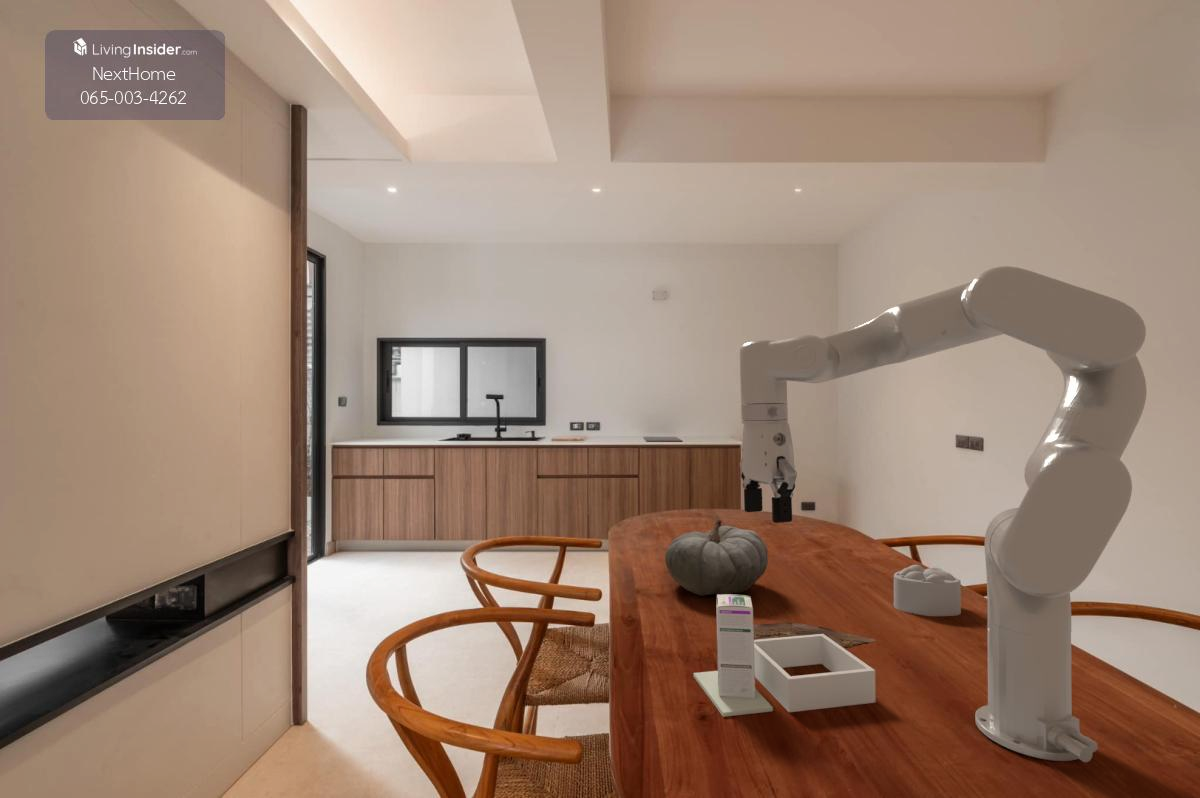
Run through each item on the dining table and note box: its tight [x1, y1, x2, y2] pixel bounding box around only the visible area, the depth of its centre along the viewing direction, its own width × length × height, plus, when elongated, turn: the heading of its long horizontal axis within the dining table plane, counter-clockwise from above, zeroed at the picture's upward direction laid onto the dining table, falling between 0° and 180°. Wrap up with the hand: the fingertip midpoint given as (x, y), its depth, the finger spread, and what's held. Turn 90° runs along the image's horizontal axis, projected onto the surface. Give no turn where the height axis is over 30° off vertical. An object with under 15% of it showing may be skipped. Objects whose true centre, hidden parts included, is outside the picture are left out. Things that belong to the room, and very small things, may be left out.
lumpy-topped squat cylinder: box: [893, 564, 962, 617], centre depth 133 cm, size 10×13×9 cm
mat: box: [692, 670, 774, 718], centre depth 95 cm, size 13×8×1 cm, turn 11°
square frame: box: [754, 634, 876, 713], centre depth 98 cm, size 15×15×5 cm
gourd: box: [664, 519, 769, 596], centre depth 147 cm, size 25×25×17 cm
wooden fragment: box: [753, 621, 877, 649], centre depth 118 cm, size 26×11×1 cm, turn 72°
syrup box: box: [715, 593, 756, 699], centre depth 95 cm, size 6×6×14 cm
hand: (767, 516), depth 99 cm, fingers open, 9 cm apart
